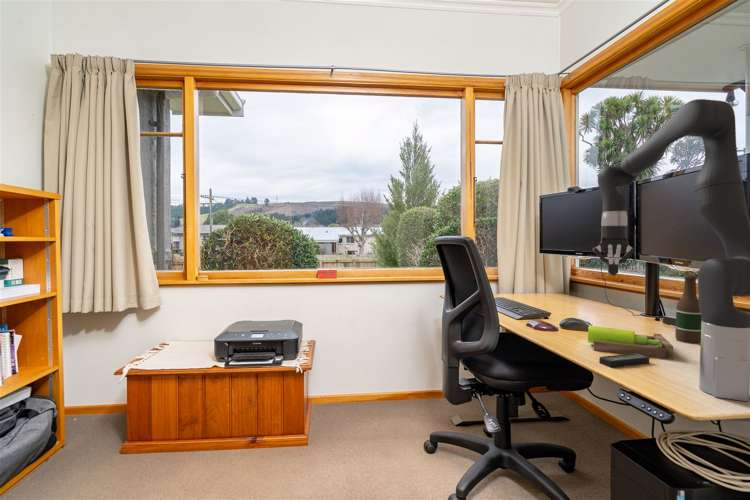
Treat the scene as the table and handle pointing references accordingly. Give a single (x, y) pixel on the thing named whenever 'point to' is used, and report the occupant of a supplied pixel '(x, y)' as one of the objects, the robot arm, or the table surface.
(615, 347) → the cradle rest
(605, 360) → the multiport hub
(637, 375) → the table surface
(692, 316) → the beer bottle
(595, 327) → the soap dispenser
